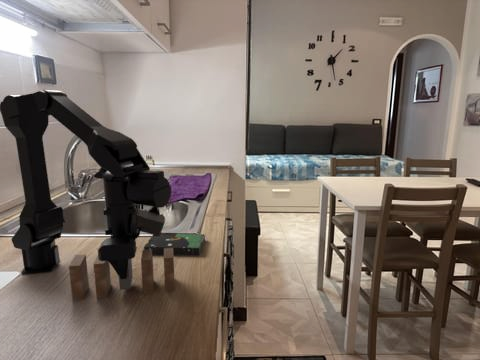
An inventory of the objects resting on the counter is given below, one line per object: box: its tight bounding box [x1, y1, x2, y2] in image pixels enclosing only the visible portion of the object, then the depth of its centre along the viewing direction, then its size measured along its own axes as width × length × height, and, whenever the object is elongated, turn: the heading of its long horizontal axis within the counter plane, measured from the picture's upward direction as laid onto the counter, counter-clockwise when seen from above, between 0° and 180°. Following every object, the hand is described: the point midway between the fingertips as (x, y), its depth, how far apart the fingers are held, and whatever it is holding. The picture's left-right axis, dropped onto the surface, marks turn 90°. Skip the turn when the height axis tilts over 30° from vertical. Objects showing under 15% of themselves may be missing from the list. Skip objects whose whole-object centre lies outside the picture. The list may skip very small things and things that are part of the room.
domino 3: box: [118, 259, 133, 291], centre depth 70 cm, size 2×5×8 cm, turn 12°
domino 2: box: [93, 255, 112, 299], centre depth 69 cm, size 2×5×8 cm, turn 12°
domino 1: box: [68, 253, 90, 302], centre depth 68 cm, size 2×5×8 cm, turn 12°
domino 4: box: [140, 249, 155, 294], centre depth 71 cm, size 2×5×8 cm, turn 12°
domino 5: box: [163, 248, 176, 292], centre depth 72 cm, size 2×5×8 cm, turn 12°
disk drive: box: [143, 232, 206, 257], centre depth 92 cm, size 10×3×15 cm
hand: (125, 272), depth 70 cm, fingers closed on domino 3, 5 cm apart
